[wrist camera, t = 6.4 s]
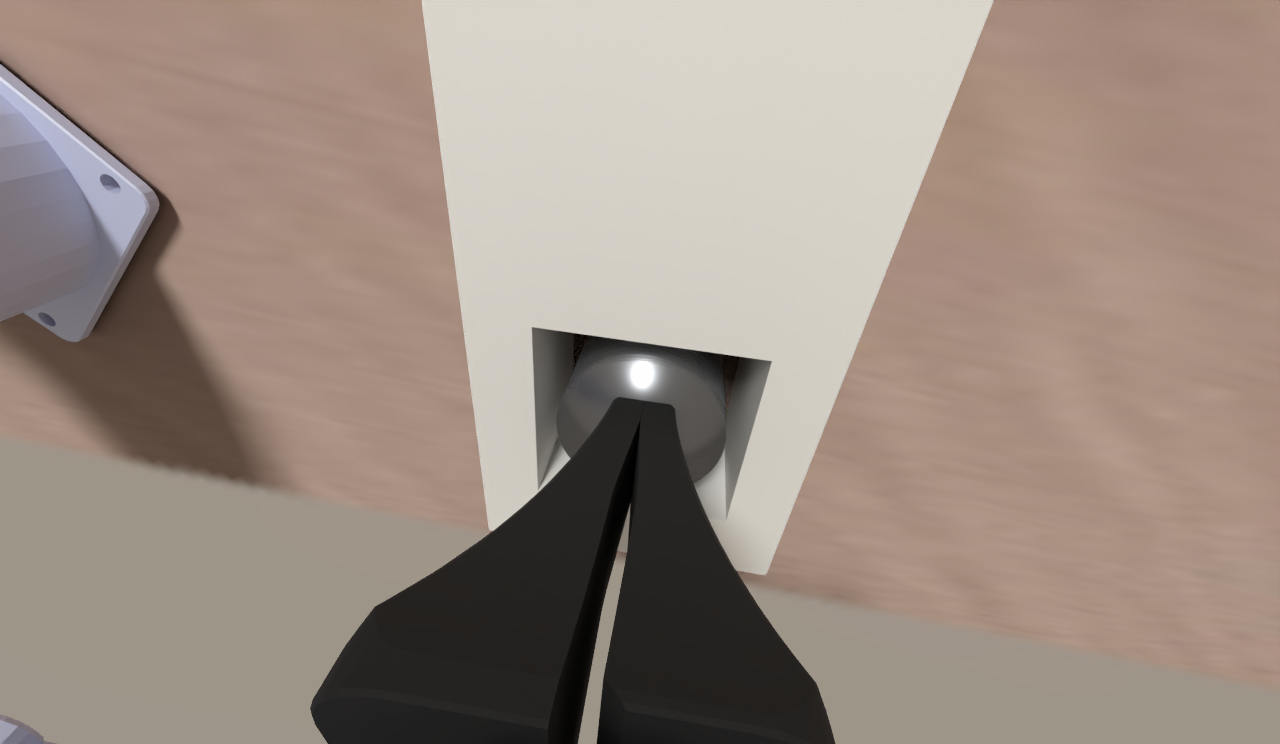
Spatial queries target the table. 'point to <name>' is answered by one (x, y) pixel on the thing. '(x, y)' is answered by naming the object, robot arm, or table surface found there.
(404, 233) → the table surface
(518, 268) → the band board
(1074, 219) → the table surface
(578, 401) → the peg
